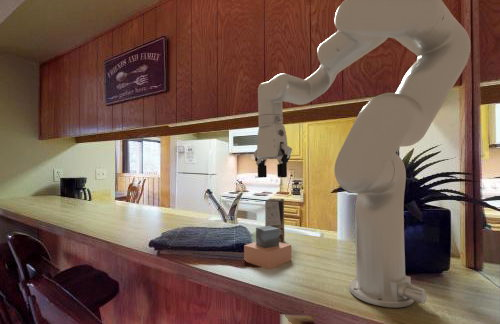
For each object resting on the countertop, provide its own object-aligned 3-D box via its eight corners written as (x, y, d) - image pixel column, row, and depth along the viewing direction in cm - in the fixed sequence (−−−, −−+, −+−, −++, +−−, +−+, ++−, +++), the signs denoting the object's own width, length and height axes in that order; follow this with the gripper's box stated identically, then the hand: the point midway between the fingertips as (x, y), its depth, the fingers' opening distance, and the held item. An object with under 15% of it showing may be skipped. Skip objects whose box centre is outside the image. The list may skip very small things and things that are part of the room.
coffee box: (283, 246, 94) (282, 201, 95) (265, 246, 95) (264, 200, 96) (284, 240, 103) (284, 198, 104) (268, 239, 104) (267, 198, 105)
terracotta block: (291, 261, 80) (291, 244, 80) (269, 270, 73) (269, 252, 73) (266, 254, 87) (265, 239, 87) (244, 262, 80) (244, 245, 80)
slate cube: (279, 245, 79) (278, 228, 79) (264, 248, 77) (264, 230, 77) (269, 241, 83) (269, 225, 84) (256, 244, 81) (255, 227, 81)
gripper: (299, 118, 79) (300, 177, 78) (263, 127, 93) (264, 177, 92) (279, 116, 74) (281, 177, 74) (245, 126, 88) (246, 177, 88)
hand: (271, 177), depth 83 cm, fingers open, 9 cm apart
